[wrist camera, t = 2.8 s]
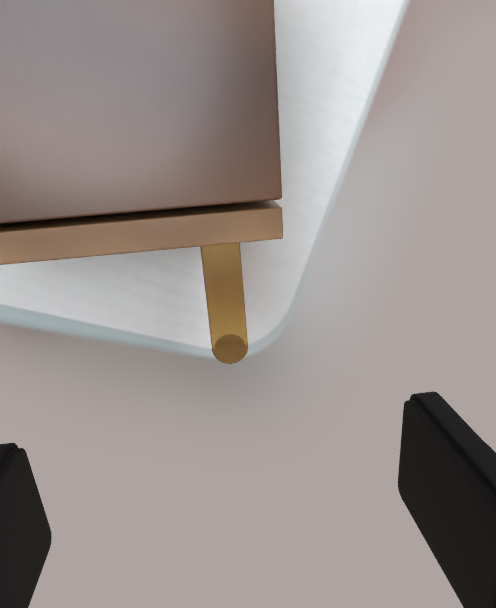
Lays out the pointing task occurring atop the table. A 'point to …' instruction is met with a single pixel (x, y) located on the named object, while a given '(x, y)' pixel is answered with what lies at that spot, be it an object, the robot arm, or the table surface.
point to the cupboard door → (159, 236)
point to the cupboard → (136, 106)
